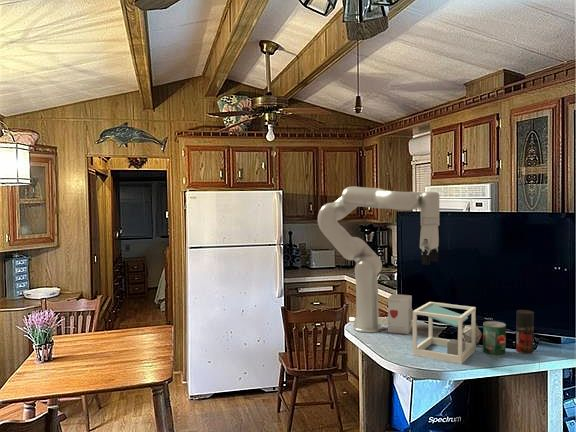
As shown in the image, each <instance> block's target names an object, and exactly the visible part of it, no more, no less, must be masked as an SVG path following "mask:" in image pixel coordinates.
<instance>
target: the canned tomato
mask: <svg viewBox="0 0 576 432" xmlns="http://www.w3.org/2000/svg"><path fill="white" fill-rule="evenodd" d="M482 326H483V327H482V333H483V335H482V353H483V354H484V355H486V356H491V357H504V356H506V354H507V349H506V343H507V342H506V341H507V338H506V337H507V336H506V335H507V333H506V332H507V324H506V323H505V322H501V321H495V320H487V321H484V322H483V324H482Z"/></svg>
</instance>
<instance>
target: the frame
mask: <svg viewBox="0 0 576 432" xmlns="http://www.w3.org/2000/svg"><path fill="white" fill-rule="evenodd" d="M431 304H434V305H436V306H439V307H442V308H451V309H459V310H466V311H464V313H461V316H459V317H458V316H451V315H443V314H436V313H428V312H421V310H423V309H424V308H426V307H428V306H430V305H431ZM476 310H477V307H476V306H469V305H459V304H451V303H445V302H435V301H429V302H426V303H425V304H423V305H421V306H419V307H417V308H416V309H414V310H412V356H414V355H416V356H415V357H420V356H421V358H425V357H426V359H430V358H431V360H437V361H443V362H447V363H453V364H458V365H463V363H464V362H465V361H466V360H467V359H468V358H469V357H471V355H473V354H474V352H475V351H476V324H477V323H476V321H477V318H476V315H477V314H476V313H477V312H476ZM470 315H471V320H470V321H471V322H470V323H471V324H470V325H471V343H467V342H465V351H463V352H462V341H463V337H462V331H463V324H464V322H463V319H464V318H466V317H468V316H470ZM418 316H423V317H424V316H426V317H427V316H431V317H439V318H446V319H453V320H458V326H457V340H458V355H452V354H447V353H445V352H442V351H441V352H439V351H434V350H430V349H426V348H428V347H429V346H431V345H436V346H441V347H447V342H449V341H450V340H451V339H447V338H441V337H435V336H433V335H434V334H433V331H434V329H433V325H434V324H433V323H434V322H433V320H434V319H433V318H430V317H428V337H427V338H425V339H424V340H422V341H421V342H420V343H418Z"/></svg>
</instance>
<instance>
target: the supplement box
mask: <svg viewBox="0 0 576 432" xmlns="http://www.w3.org/2000/svg"><path fill="white" fill-rule="evenodd" d="M412 297H413V296H412V295H409V294H398V293H397V294H395V293H394V294H393V293H391V294H390V295H389V297H388V299H387V332H388V333H393V334H394V333H395V334H405V335H409V334H410V332H411V330H413V310H412V309H413V308H412V302H413V298H412Z"/></svg>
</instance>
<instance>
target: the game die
mask: <svg viewBox="0 0 576 432" xmlns="http://www.w3.org/2000/svg"><path fill="white" fill-rule="evenodd" d="M463 325H464V326H463V327H462V340H463V341H465V342H467V343H471V324H465V323H463ZM482 337H483V332H481V330H480V329H479V327H478V323H476V344H477V345H478V346H480V343H479V342H480V340H481V338H482Z"/></svg>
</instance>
